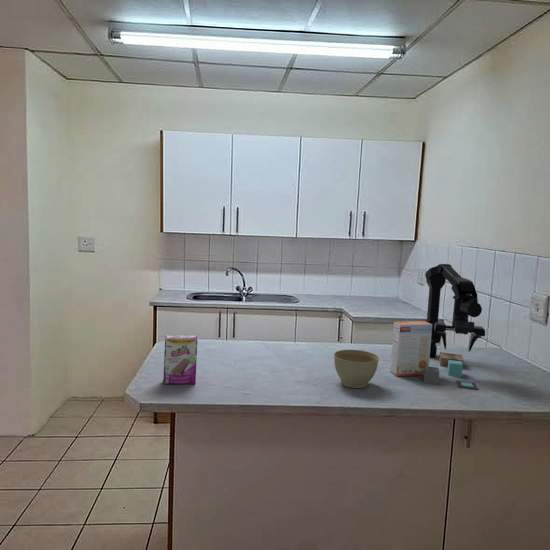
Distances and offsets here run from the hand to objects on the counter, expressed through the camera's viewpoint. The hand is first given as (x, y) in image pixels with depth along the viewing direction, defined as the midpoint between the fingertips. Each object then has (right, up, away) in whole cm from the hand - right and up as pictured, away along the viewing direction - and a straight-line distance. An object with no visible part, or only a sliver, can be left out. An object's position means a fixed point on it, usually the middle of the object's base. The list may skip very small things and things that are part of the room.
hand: (457, 350), depth 200 cm
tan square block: (+3, -9, +15) cm, 17 cm away
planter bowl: (-44, -10, -17) cm, 48 cm away
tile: (-1, -12, -12) cm, 17 cm away
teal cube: (-1, -10, +1) cm, 10 cm away
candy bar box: (-106, -8, -25) cm, 110 cm away
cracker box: (-20, -9, -2) cm, 22 cm away
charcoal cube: (-13, -11, -9) cm, 19 cm away
